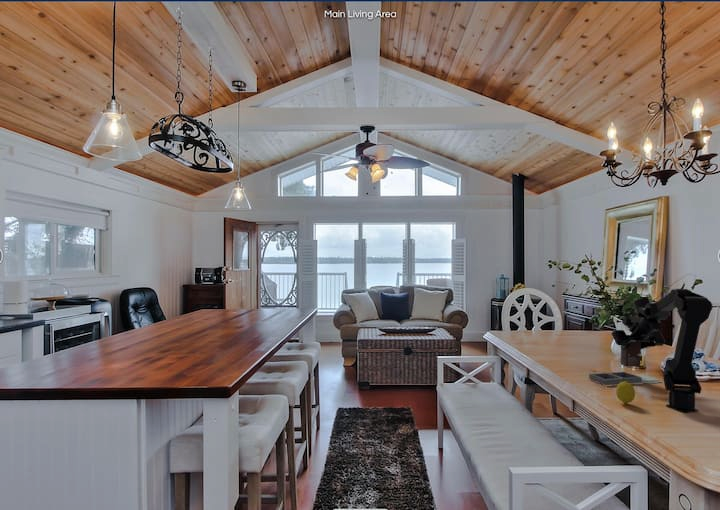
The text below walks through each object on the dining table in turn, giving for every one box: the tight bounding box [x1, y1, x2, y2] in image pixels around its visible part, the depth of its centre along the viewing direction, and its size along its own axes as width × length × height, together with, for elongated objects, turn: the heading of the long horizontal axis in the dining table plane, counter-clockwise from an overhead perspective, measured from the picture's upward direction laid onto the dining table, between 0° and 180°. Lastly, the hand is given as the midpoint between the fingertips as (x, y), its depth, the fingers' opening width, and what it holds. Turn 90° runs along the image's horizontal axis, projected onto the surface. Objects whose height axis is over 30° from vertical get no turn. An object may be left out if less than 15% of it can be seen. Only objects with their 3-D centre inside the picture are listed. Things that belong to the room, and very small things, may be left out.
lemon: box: [615, 381, 636, 405], centre depth 148 cm, size 6×6×8 cm
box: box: [620, 341, 642, 368], centre depth 178 cm, size 6×4×12 cm
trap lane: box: [588, 371, 663, 387], centre depth 176 cm, size 10×27×2 cm, turn 103°
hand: (628, 349), depth 180 cm, fingers closed on box, 6 cm apart
